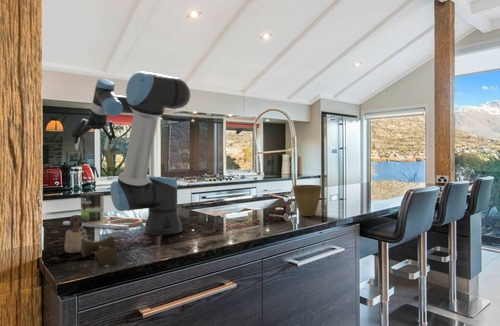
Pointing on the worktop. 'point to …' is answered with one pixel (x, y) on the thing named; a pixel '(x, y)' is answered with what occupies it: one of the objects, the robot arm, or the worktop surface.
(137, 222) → the marked ring
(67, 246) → the figurine
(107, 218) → the flat rectangular tray
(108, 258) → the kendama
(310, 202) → the plant pot
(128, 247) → the worktop surface
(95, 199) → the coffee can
